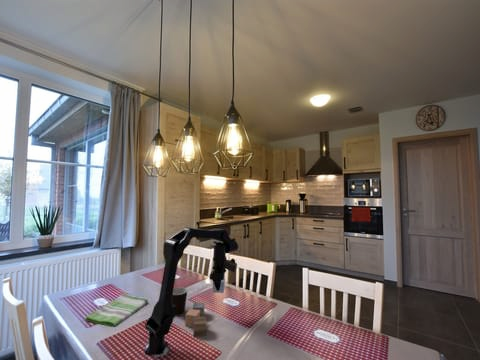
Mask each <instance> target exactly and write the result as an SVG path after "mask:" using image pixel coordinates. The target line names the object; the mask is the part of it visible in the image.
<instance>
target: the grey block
mask: <svg viewBox="0 0 480 360" xmlns="http://www.w3.org/2000/svg"><path fill="white" fill-rule="evenodd" d="M192 309H193V310H200V317H205V316H204V315H205V302H201V301H200V302H194V303H193V306H192Z"/></svg>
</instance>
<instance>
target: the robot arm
mask: <svg viewBox="0 0 480 360" xmlns="http://www.w3.org/2000/svg"><path fill="white" fill-rule="evenodd" d="M193 238H194V239H195V238H196V239H197V238H198V239H211V240H213V242H211V244H210V245H209V246H210V247H212V248H213V257H212V261H213V265H212V271H211V272H210V274H209V280H210V281H211V280H212V283H213V282H214V285H215V287H216V290H217V291H219V290H220V285H221V280H224V278H225V277H226V276H225V274H226V272H227V271H230V272H231V273H235V272H236V269H237V267H238V262H236V259H235V258H234V257H233V258H231V259H227V256H226V254H231V253H235V252H237V251H238V249H239V245H238V243H237V241H236V238H234V237H230V235H229V232H228V230H227V229H222V228H217V227H216V228H211V229H204V228H201V229H200V228H193V227H184V228H182V230H180V231H178V232H177V233H175V234H173V236H171V237H170V238H168V239H167V240H165V241H164V243H163V258H164V267H163V274H162V279H161V285H160V292H159V298H158V301H156V303H155V305H154V306H153V309H152V313H151V315H150V317H149V318H148V319H147V321H146V322H145V324H144V327H145V330H146V331H148V346H147V348H146V349H145V350H144V354H145V355H163V353H164V351H165V349H166V348H167V345H168V343H169V341H166V335H168V334H169V333H170V330H171V327H172V324H173V322H174V318H175V319H176V315H175V311H176V306H175V305H173V304H172V296H173V290H174V288H175V282H176V276H177V269H178V264H179V262H180V261H181V259H182V257H183V256H184V251H185V249H186V248H188V246H189V245H190V244H191V241H192V239H193Z"/></svg>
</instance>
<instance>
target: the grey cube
mask: <svg viewBox="0 0 480 360" xmlns="http://www.w3.org/2000/svg"><path fill="white" fill-rule="evenodd" d="M225 280H226V278H225V277H224V280H221V285H220V290H219V291H217V290H216V287H215V285H214V282H213V281H212V294H223V293H225V289H226V287H225V285H226V281H225Z"/></svg>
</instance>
